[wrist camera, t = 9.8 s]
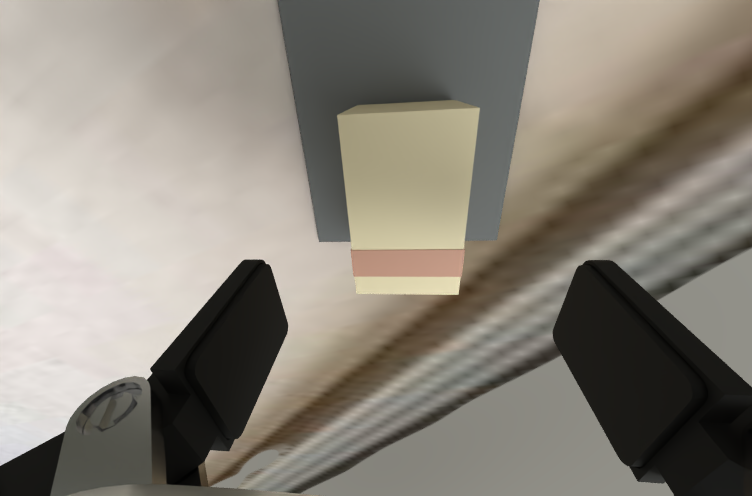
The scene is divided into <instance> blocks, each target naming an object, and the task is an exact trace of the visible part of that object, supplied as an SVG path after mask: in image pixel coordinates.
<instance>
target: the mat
mask: <svg viewBox="0 0 752 496" xmlns="http://www.w3.org/2000/svg"><path fill="white" fill-rule="evenodd" d="M539 1H540V0H278V5H279V11H280V17H281V23H282V29H283V34H284V40H285V46H286V52H287V58H288V63H289V69H290V75H291V81H292V87H293V92H294V98H295V104H296V110H297V116H298V121H299V127H300V133H301V139H302V145H303V150H304V156H305V162H306V168H307V174H308V179H309V185H310V191H311V197H312V203H313V209H314V214H315V220H316V226H317V232H318V238H319V242H351V238H350V228H349V219H348V210H347V201H346V192H345V183H344V173H343V164H342V155H341V146H340V137H339V128H338V119H337V115H338V114H340V113H342V112H344V111H346V110H349V109H351V108H353V107H355V106H357V105H368V104H387V103H405V102H424V101H442V100H457V101H460V102H463V103H466V104H469V105H473V106H476V107H479V108H480V112H479V120H478V129H477V138H476V146H475V155H474V164H473V172H472V181H471V190H470V198H469V207H468V215H467V224H466V233H465V241H470V240H497V236H498V230H499V225H500V219H501V213H502V208H503V202H504V197H505V191H506V185H507V180H508V174H509V169H510V163H511V157H512V152H513V146H514V141H515V135H516V130H517V124H518V118H519V113H520V107H521V102H522V96H523V90H524V85H525V79H526V74H527V68H528V62H529V57H530V51H531V46H532V40H533V35H534V29H535V23H536V18H537V12H538V7H539Z"/></svg>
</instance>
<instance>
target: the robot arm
mask: <svg viewBox="0 0 752 496" xmlns="http://www.w3.org/2000/svg"><path fill="white" fill-rule="evenodd" d="M287 331H288V322H287V319H286V316H285V312H284V309H283V306H282V302H281V299H280V296H279V292H278V289H277V286H276V283H275V279H274V276H273V273H272V269H271V267H270V265H269V264H266V263H265V262H264V260H243V261H242V262H241V263H240V264H239V265H238V267H237V268H236V269H235V270H234V271H233V272H232V274H231V275H230V276H229V277H228V278H227V279H226V281H225V282H224V283H223V284H222V285H221V286H220V288H219V289H218V290H217V291H216V292H215V293H214V295H213V296H212V297H211V298H210V299H209V300H208V302H207V303H206V304H205V305H204V306H203V307H202V309H201V310H200V311H199V312H198V313H197V314H196V316H195V317H194V318H193V319H192V320H191V321H190V323H189V324H188V325H187V326H186V327H185V328H184V330H183V331H182V332H181V333H180V334H179V336H178V337H177V338H176V339H175V340H174V341H173V343H172V344H171V345H170V346H169V347H168V348H167V350H166V351H165V352H164V353H163V354H162V355H161V357H160V358H159V359H158V360H157V361H156V362H155V364H154V365H153V366H152V367H151V368H150V370H151V371H152V375H151V376H150V377H149V378H148V379H147V380H146V379H145V378H143V377H137V376H133V377H127V378H123V379H120V380H117V381H115V382H112V383H110V384H108V385H107V386H105V387H103V388H101V389H100V390H98V391H97V392H95V393H94V394H93V395H91V396H90V397H89V398H88V399H86V400H85V401H84V402H83V403H82V404H81V405H80V406H79V407H78V408H77V410H76V411H75V412H74V414H73V415H72V416H71V418H70V420H69V422H68V424H67V427H66V430H65V432H63V433H61V434H60V435H58V436H56V437H54V438H52V439H50V440H48V441H46V442H45V443H43V444H41V445H39V446H37V447H35V448H33V449H31V450H30V451H28V452H26V453H24V454H22V455H20V456H18V457H16V458H14V459H13V460H11V461H9V462H7V463H5V464H3V465H1V466H0V496H320V495H307V494H296V493H284V492H271V491H259V490H247V489H234V488H217V487H208V481H207V474H206V468H205V462H204V461H205V459H206V457H207V455H208V453H209V451H210V450H217V451H229V450H230V448H231V446H232V444H233V442H234V440H235V439H238V438H239V437H240V436H241V435H242V433H243V431H244V429H245V426H246V424H247V422H248V420H249V417H250V415H251V413H252V411H253V408H254V406H255V404H256V402H257V399H258V397H259V395H260V393H261V391H262V388H263V386H264V384H265V382H266V379H267V377H268V375H269V373H270V370H271V368H272V366H273V364H274V362H275V359H276V357H277V355H278V353H279V350H280V348H281V346H282V344H283V341H284V339H285V337H286V335H287ZM553 339H554V342H555V344H556V345H557V347H558V349H559V351H560V353H561V354H562V356H563V358H564V360H565V361H566V363H567V365H568V367H569V369H570V371H571V372H572V374H573V376H574V378H575V380H576V381H577V383H578V385H579V387H580V389H581V390H582V392H583V394H584V396H585V398H586V399H587V401H588V403H589V405H590V407H591V408H592V410H593V412H594V414H595V416H596V417H597V419H598V421H599V423H600V425H601V426H602V428H603V430H604V432H605V434H606V436H607V437H608V439H609V441H610V443H611V445H612V446H613V448H614V450H615V452H616V454H617V455H618V457H619V459H620V460H621V461H622V462H623V463H624V464H625V465H627V466H629V467H630V468H631V470H632V472H633V474H634V476H635V477H636V479H637V481H638V482H651V483H664V482H666V483H667V484H668V486H669V487H670V489H671V491H672V492H673V494H674V496H752V387H751V386H750V385H749V384H748V383H746V382H745V381H744V380H743V379H742V378H741V377H740V376H739V375H738V374H737V373H736V372H734V371H733V370H732V369H731V368H730V367H729V366H728V365H727V364H725V362H723V361H722V360H721V359H720V358H719V357H718V356H717V355H716V354H715V353H713V352H712V351H711V350H710V349H709V348H708V347H707V346H706V345H705V344H704V343H702V342H701V341H700V340H699V339H698V338H697V337H696V336H695V335H694V334H692V333H691V332H690V331H689V330H688V329H687V328H686V327H685V326H684V325H683V324H682V323H681V322H679V321H678V320H677V319H676V318H675V317H674V316H673V315H672V314H671V313H669V311H667V310H666V309H665V308H664V307H663V306H662V305H661V304H660V303H659V302H658V301H656V300H655V299H654V298H653V297H652V296H651V295H650V294H649V293H648V292H647V291H645V290H644V289H643V288H642V287H641V286H640V285H639V284H638V283H637V282H636V281H634V280H633V279H632V278H631V277H630V276H629V275H628V274H627V273H626V272H625V271H623V270H622V269H621V268H620V267H619V266H618V265H617V264H616V263H614V262H613V261H610V260H588V261H586V262H584V263H583V265H580V266H578V267H577V269H576V272H575V274H574V277H573V279H572V282H571V285H570V287H569V290H568V292H567V295H566V298H565V300H564V303H563V305H562V308H561V311H560V313H559V316H558V318H557V321H556V324H555V326H554V329H553Z"/></svg>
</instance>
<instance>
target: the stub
mask: <svg viewBox="0 0 752 496" xmlns="http://www.w3.org/2000/svg"><path fill="white" fill-rule="evenodd" d="M479 112H480V108H479V107H476V106H473V105H469V104H466V103H463V102H460V101H457V100H442V101H424V102H405V103H387V104H368V105H357V106H355V107H353V108H351V109H349V110H346V111H344V112H342V113H340V114H338V115H337V119H338V128H339V137H340V146H341V155H342V164H343V173H344V183H345V192H346V201H347V210H348V219H349V228H350V238H351V247H352V248H351V257H352V266H353V275H354V277H355V283H356V292H357V294H442V295H458V293H459V285H460V277H462V270H463V261H464V253H465V249H464V241H465V233H466V224H467V215H468V207H469V198H470V190H471V181H472V172H473V164H474V155H475V146H476V138H477V129H478V120H479Z"/></svg>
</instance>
